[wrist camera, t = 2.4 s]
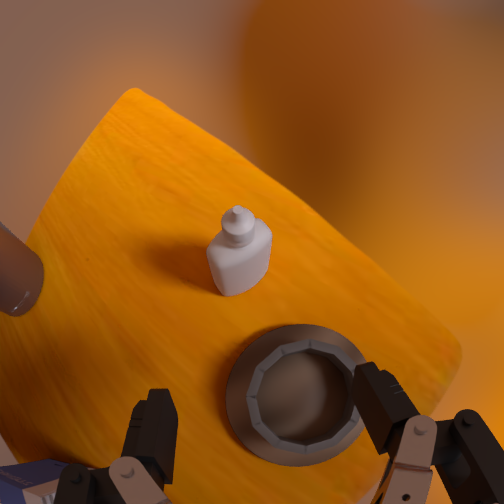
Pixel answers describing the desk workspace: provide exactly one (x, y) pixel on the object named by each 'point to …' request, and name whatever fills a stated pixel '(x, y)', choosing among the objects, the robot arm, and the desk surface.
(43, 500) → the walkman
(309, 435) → the bottle collar
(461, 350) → the desk surface
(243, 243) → the eye dropper bottle
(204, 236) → the desk surface
